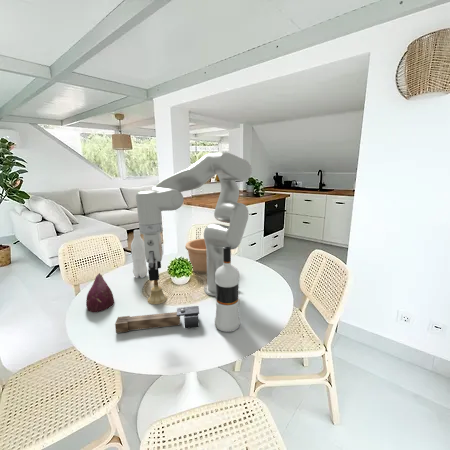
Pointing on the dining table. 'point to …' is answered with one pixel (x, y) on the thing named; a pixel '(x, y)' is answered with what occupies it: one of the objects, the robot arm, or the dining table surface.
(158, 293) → the hand bell
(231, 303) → the vodka
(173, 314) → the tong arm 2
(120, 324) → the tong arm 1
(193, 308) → the hinge block
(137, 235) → the water bottle
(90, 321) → the dining table surface
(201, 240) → the pottery
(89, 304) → the vegetable
